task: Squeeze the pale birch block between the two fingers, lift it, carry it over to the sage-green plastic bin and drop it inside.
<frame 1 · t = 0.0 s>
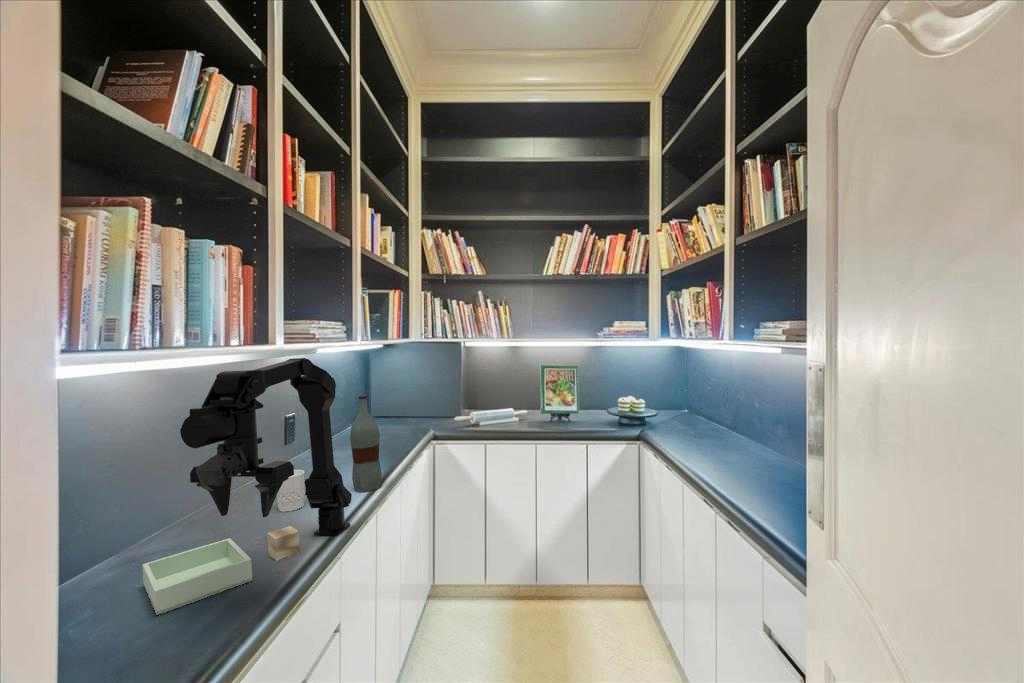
hand: (244, 515, 91), 15 cm above the worktop, tool pointing down, fingers open, 9 cm apart
white cup: (291, 508, 137), on the worktop
sage bin: (198, 583, 95), on the worktop
bottle: (367, 488, 152), on the worktop
birch block: (284, 554, 107), on the worktop
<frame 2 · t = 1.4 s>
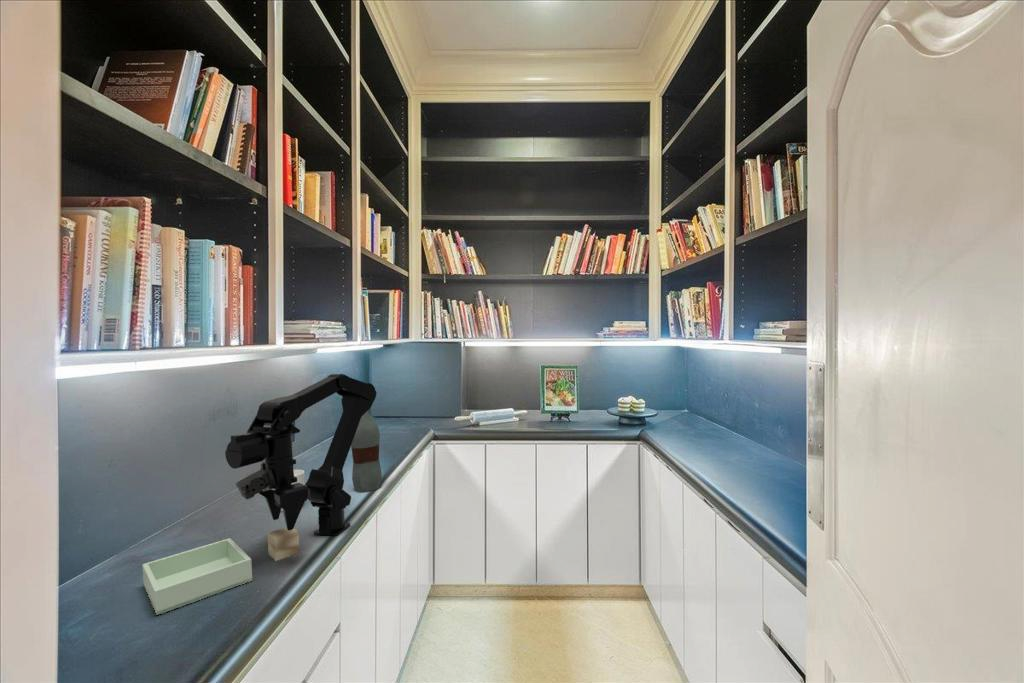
hand: (282, 524, 107), 7 cm above the worktop, tool pointing down, fingers open, 9 cm apart
nothing on the worktop moved.
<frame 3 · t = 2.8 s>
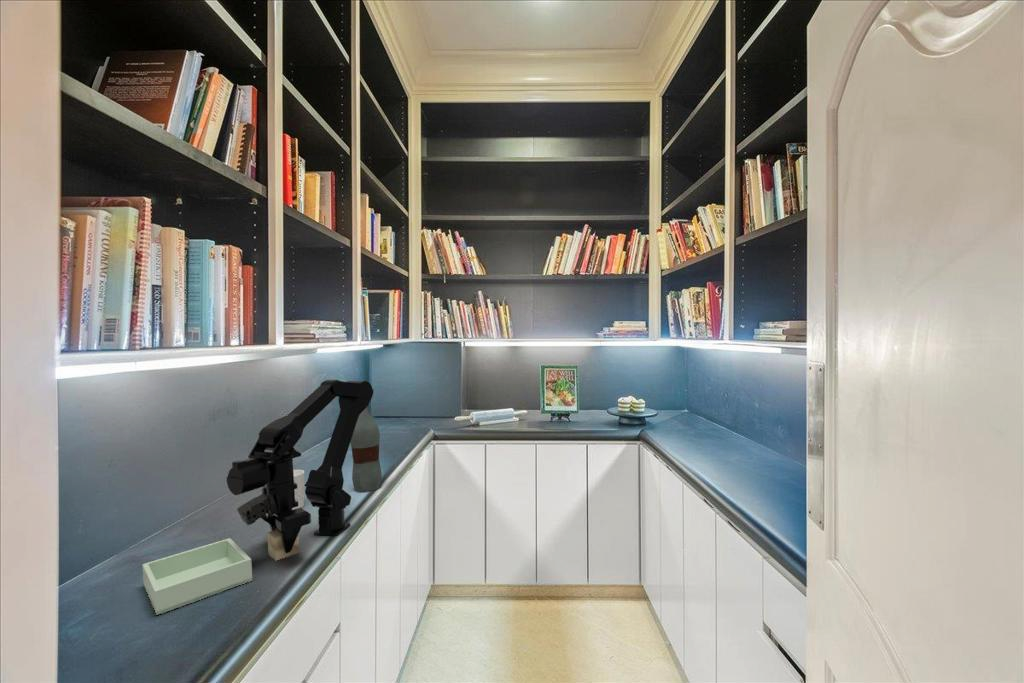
hand: (283, 549, 107), 1 cm above the worktop, tool pointing down, fingers closed on birch block, 5 cm apart
birch block: (284, 553, 107), on the worktop, touching gripper
everything else where it was.
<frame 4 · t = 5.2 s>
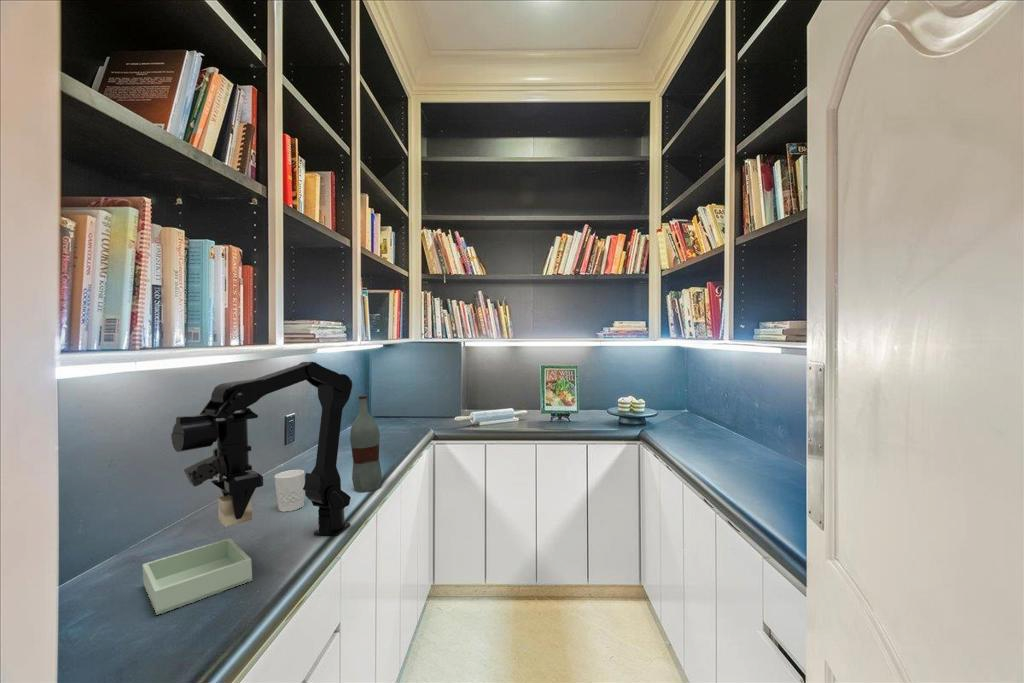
hand: (234, 515, 100), 12 cm above the worktop, tool pointing down, fingers closed on birch block, 5 cm apart
birch block: (235, 520, 100), point 11 cm above the worktop, touching gripper
everything else where it was.
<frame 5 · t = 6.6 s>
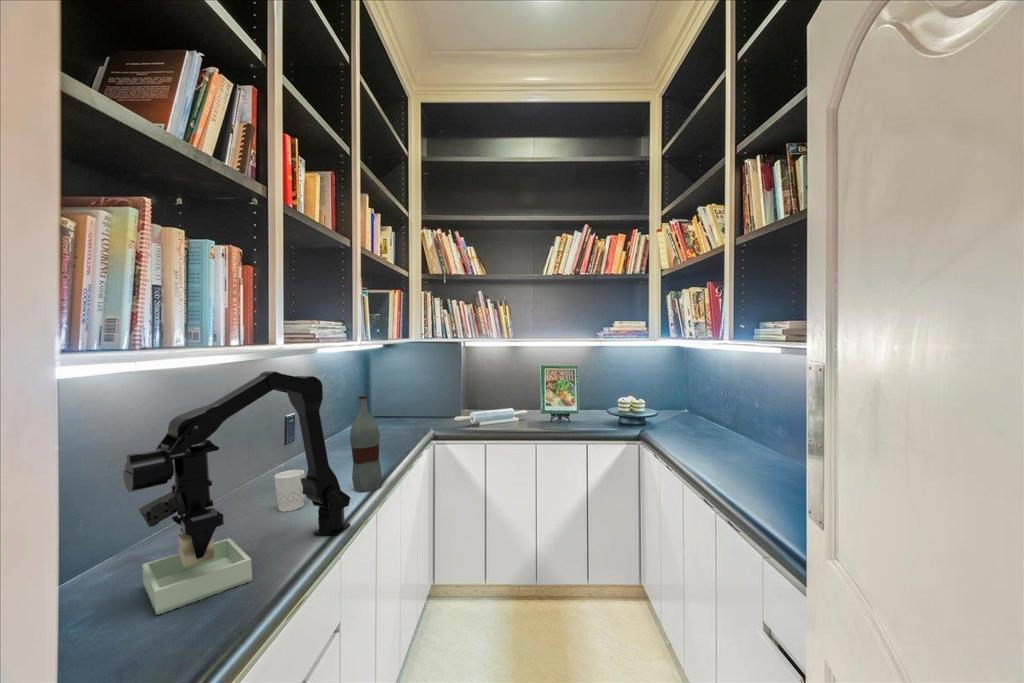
hand: (196, 553, 95), 6 cm above the worktop, tool pointing down, fingers closed on birch block, 5 cm apart
birch block: (197, 558, 95), point 5 cm above the worktop, touching gripper
everything else where it was.
when the fingers open (4 cm above the worktop, at t = 7.8 s): birch block drops 2 cm, resting on sage bin.
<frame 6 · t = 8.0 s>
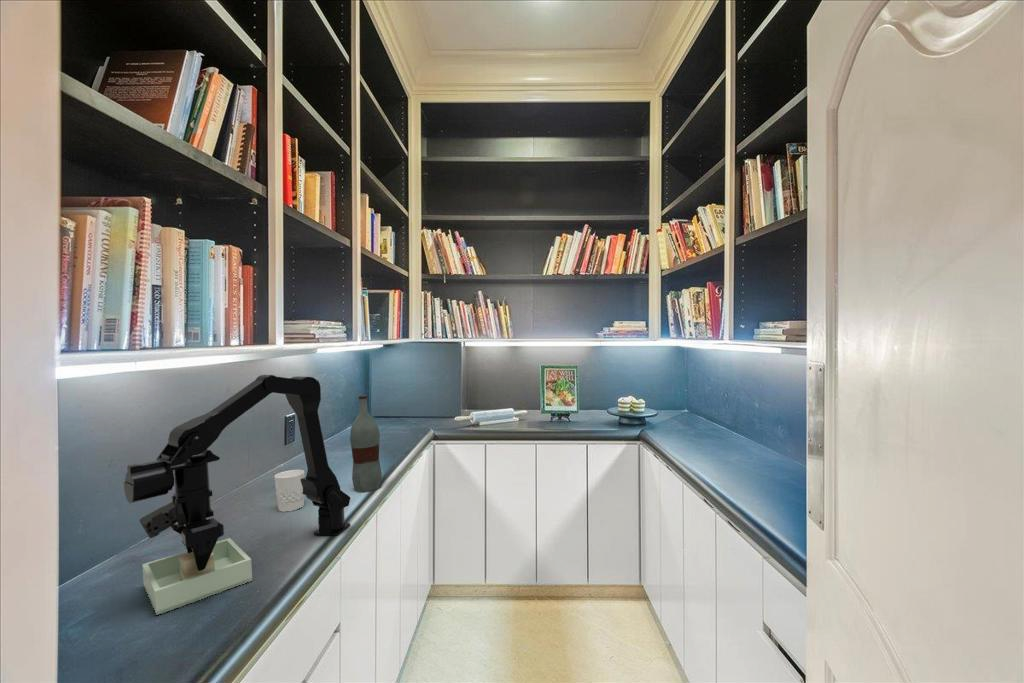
hand: (197, 564, 95), 4 cm above the worktop, tool pointing down, fingers open, 7 cm apart
birch block: (198, 579, 95), point 1 cm above the worktop, touching sage bin
everything else where it was.
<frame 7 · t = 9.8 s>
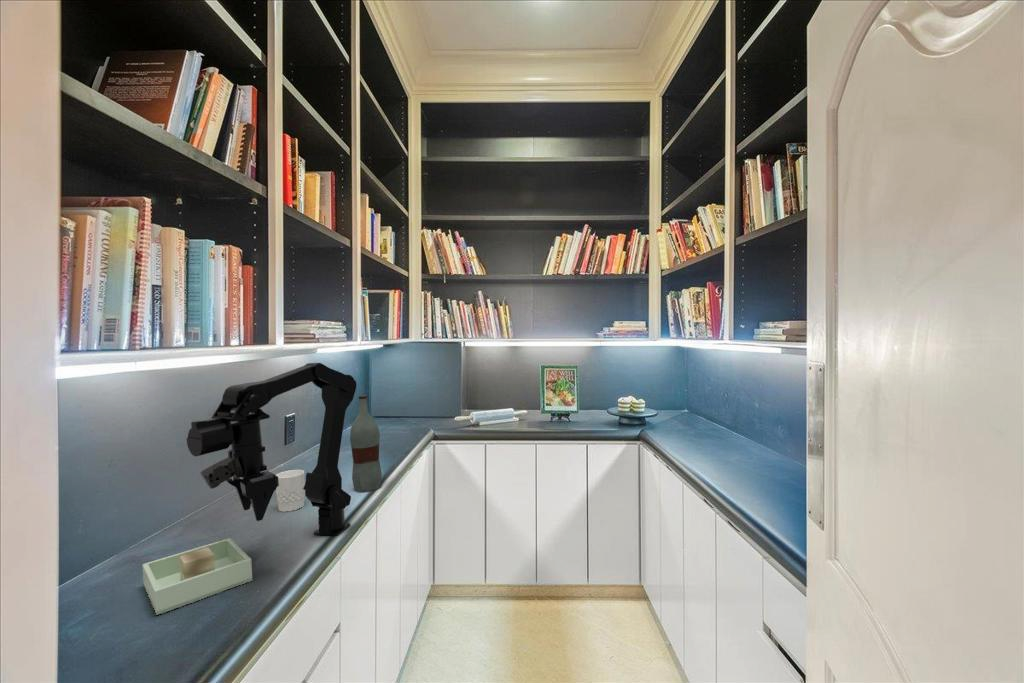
hand: (253, 514, 101), 11 cm above the worktop, tool pointing down, fingers open, 9 cm apart
nothing on the worktop moved.
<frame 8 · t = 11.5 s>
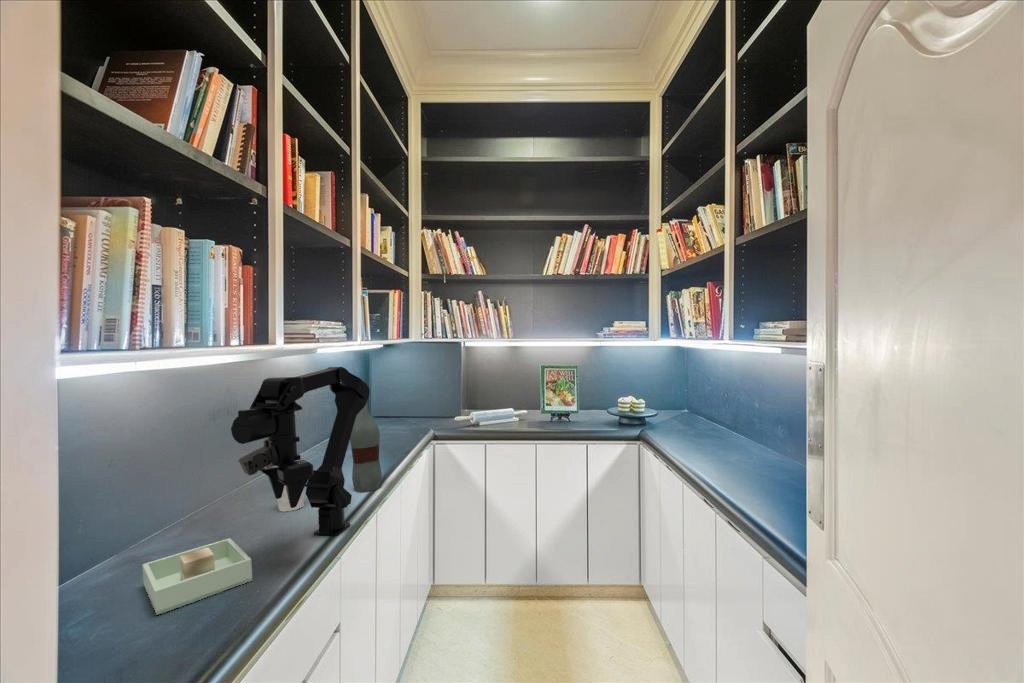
hand: (285, 502, 105), 12 cm above the worktop, tool pointing down, fingers open, 9 cm apart
nothing on the worktop moved.
at the end: birch block inside the target area on the sage bin (0.0 cm from its centre), point 0.8 cm above the sage bin's base; the gripper is holding nothing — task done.
